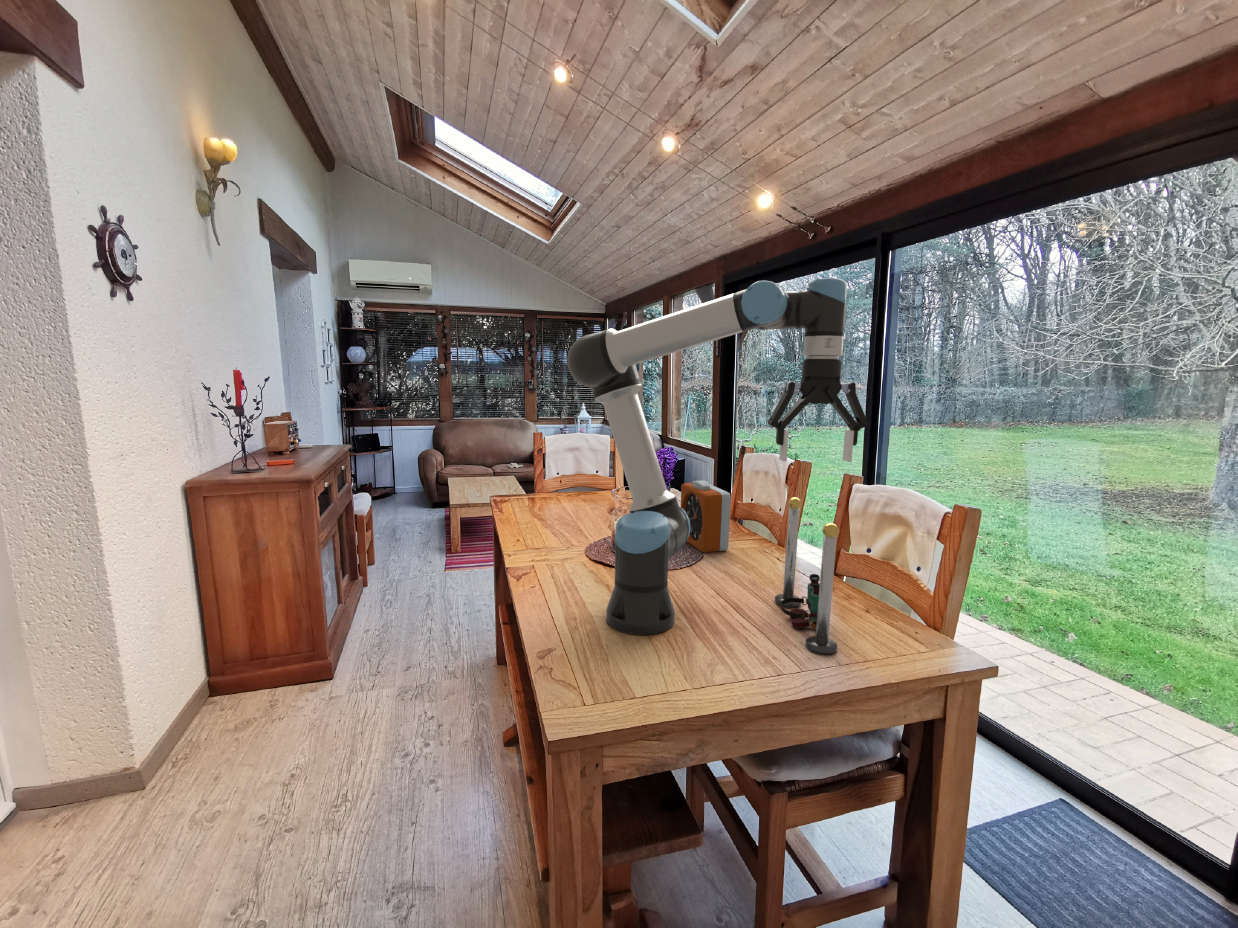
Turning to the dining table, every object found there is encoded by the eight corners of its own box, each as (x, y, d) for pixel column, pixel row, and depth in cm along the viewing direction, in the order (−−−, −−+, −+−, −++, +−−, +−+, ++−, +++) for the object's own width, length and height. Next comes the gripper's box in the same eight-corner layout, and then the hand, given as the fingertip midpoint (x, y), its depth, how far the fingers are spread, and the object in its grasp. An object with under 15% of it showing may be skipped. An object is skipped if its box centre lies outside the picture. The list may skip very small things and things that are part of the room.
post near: (811, 654, 111) (821, 527, 107) (801, 640, 117) (810, 519, 112) (841, 655, 111) (853, 527, 107) (830, 640, 117) (840, 519, 113)
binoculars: (778, 572, 129) (824, 571, 126) (780, 616, 130) (825, 616, 128) (781, 586, 120) (830, 586, 118) (783, 633, 121) (832, 634, 119)
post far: (778, 607, 133) (786, 500, 128) (771, 597, 139) (778, 494, 134) (804, 608, 133) (812, 500, 128) (796, 597, 139) (803, 494, 134)
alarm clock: (678, 536, 187) (680, 476, 184) (702, 534, 190) (705, 474, 187) (703, 554, 170) (705, 487, 167) (729, 551, 173) (732, 486, 169)
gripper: (766, 357, 111) (760, 463, 115) (891, 358, 112) (882, 464, 115) (756, 357, 119) (751, 457, 122) (874, 359, 119) (865, 458, 123)
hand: (815, 460), depth 119 cm, fingers open, 13 cm apart
